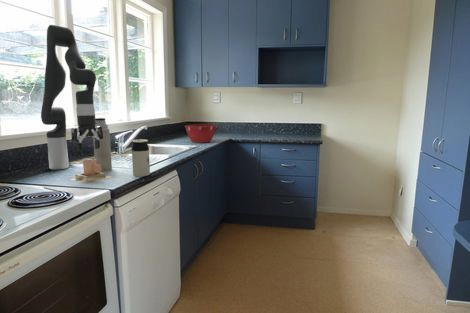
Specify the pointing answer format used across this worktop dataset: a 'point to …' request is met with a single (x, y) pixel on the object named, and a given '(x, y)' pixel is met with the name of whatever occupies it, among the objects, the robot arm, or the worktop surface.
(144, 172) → the travel mug
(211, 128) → the mixing bowl
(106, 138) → the thermos bottle
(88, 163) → the tabbed peach cylinder
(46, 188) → the mat
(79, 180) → the dock
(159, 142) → the worktop surface
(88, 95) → the robot arm
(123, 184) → the worktop surface
